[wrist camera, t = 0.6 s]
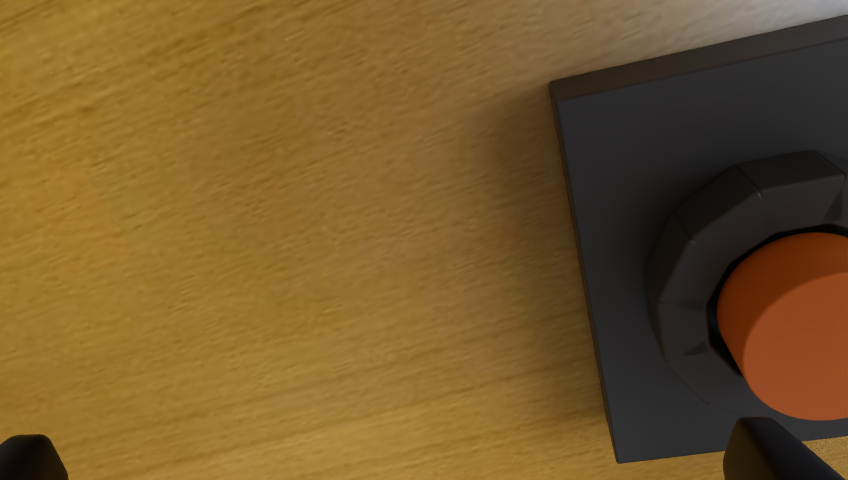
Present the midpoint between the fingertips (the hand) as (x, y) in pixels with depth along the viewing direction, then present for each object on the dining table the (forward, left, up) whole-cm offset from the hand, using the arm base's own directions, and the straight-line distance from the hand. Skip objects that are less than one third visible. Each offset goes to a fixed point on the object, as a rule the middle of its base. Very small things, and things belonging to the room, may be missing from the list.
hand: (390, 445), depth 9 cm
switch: (-2, -9, -9) cm, 13 cm away
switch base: (-2, -9, -12) cm, 15 cm away
